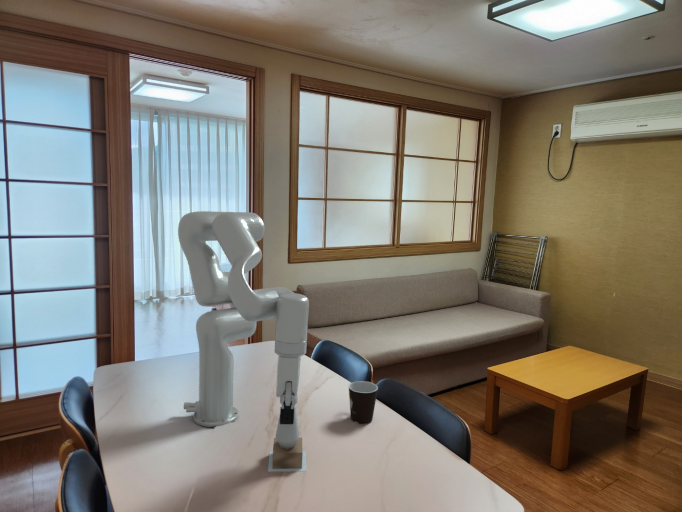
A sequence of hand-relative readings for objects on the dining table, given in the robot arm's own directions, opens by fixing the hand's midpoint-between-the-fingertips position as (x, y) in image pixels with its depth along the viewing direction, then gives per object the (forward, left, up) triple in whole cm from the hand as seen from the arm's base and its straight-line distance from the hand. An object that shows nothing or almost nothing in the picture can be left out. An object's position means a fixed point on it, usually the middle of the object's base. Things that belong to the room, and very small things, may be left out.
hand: (286, 413), depth 113 cm
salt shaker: (0, 0, -8) cm, 8 cm away
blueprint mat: (0, -1, -12) cm, 12 cm away
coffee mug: (+22, +23, -13) cm, 35 cm away
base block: (0, -1, -12) cm, 12 cm away
